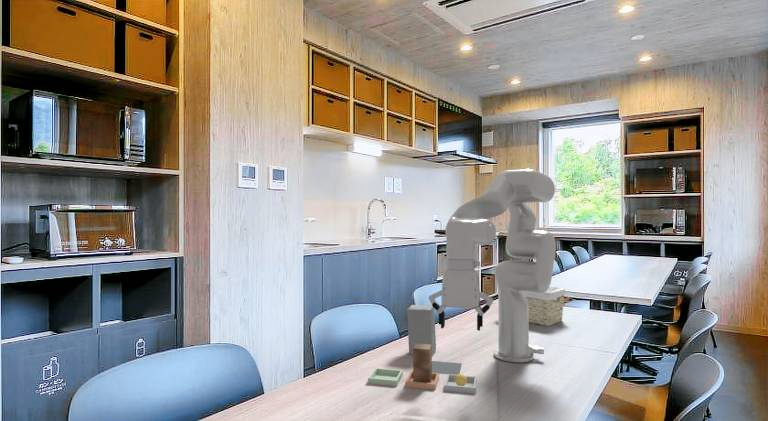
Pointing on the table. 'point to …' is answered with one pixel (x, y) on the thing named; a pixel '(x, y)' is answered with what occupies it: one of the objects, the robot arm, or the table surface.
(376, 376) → the sage tub
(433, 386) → the terracotta tub
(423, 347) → the walnut block
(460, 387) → the grey tub
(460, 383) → the mustard ball
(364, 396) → the table surface
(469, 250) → the robot arm
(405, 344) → the table surface
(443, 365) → the rubber mat
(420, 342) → the skincare box
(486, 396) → the table surface
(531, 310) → the storage basket
